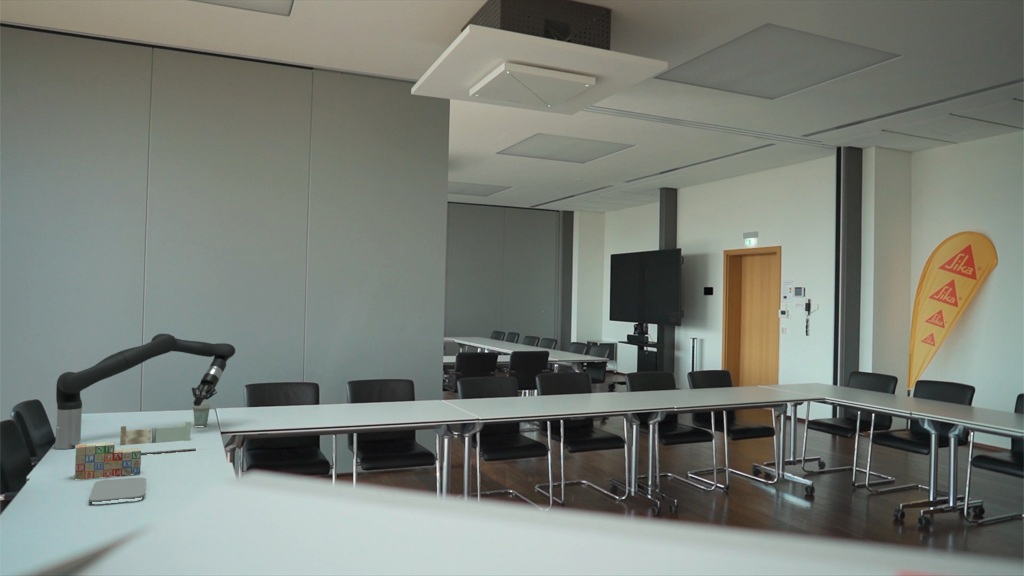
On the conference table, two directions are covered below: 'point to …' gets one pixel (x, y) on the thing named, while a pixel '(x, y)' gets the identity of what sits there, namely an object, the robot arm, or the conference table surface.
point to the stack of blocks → (105, 460)
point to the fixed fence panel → (134, 436)
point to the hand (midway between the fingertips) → (196, 405)
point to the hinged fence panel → (171, 433)
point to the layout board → (169, 451)
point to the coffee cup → (201, 414)
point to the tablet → (118, 489)
